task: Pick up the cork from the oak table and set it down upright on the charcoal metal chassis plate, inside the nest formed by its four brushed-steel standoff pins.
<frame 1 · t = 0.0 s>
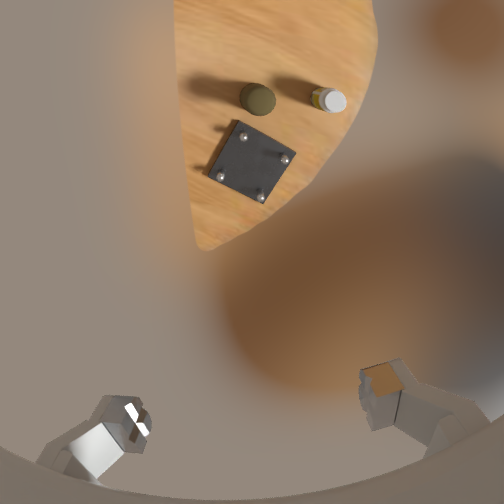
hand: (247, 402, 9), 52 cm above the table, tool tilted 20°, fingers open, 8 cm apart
supplement bottle: (321, 98, 49), on the table
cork: (255, 97, 49), on the table
standoff chassis: (251, 162, 56), on the table
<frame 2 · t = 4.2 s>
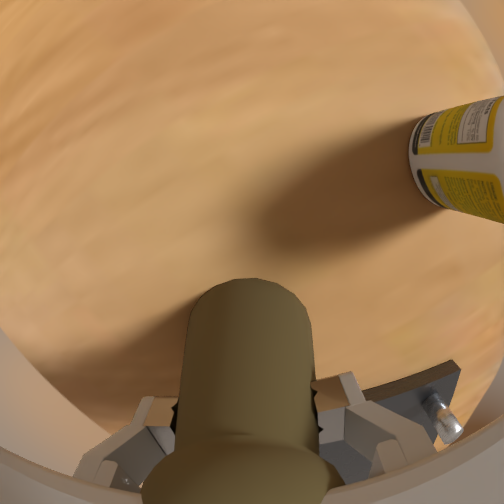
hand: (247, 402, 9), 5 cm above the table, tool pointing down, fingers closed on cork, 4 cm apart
supplement bottle: (441, 159, 11), on the table
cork: (249, 333, 14), on the table, touching gripper
standoff chassis: (359, 446, 16), on the table
when the fingers open (7 cm above the table, at t = 9.5 s): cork stays where it is, resting on standoff chassis.
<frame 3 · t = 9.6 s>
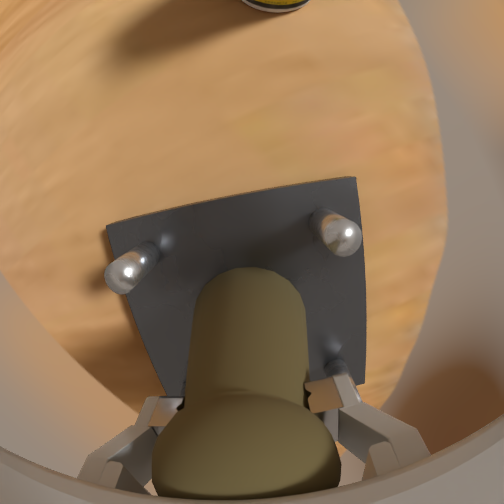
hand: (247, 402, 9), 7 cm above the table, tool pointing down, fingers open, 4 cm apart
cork: (249, 318, 15), point 1 cm above the table, touching standoff chassis
standoff chassis: (249, 310, 16), on the table
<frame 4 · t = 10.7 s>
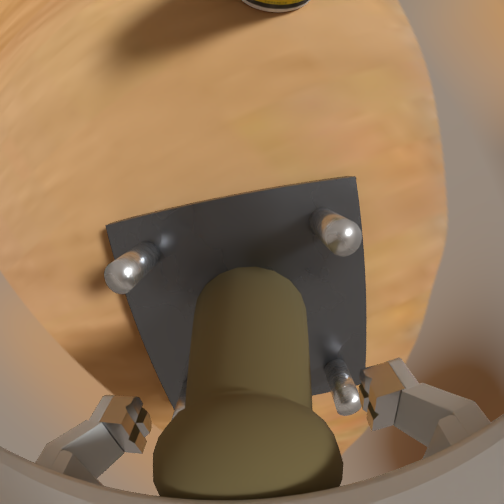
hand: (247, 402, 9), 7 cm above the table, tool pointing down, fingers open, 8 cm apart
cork: (250, 318, 15), point 1 cm above the table, touching standoff chassis
standoff chassis: (249, 310, 16), on the table
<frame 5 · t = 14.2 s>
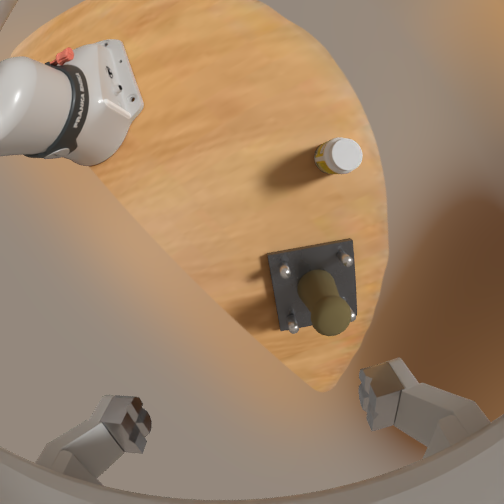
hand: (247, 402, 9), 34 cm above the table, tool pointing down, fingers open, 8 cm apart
supplement bottle: (329, 158, 39), on the table
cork: (316, 287, 43), point 1 cm above the table, touching standoff chassis
standoff chassis: (314, 285, 44), on the table
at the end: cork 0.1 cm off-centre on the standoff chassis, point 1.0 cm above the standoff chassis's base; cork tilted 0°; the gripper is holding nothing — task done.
